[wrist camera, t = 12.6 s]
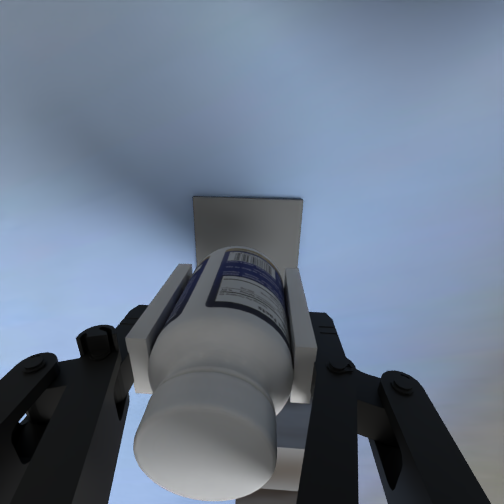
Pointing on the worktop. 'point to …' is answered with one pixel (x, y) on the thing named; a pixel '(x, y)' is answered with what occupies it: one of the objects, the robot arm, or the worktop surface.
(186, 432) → the pill bottle
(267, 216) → the pad
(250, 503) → the board with two blocks
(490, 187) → the worktop surface
